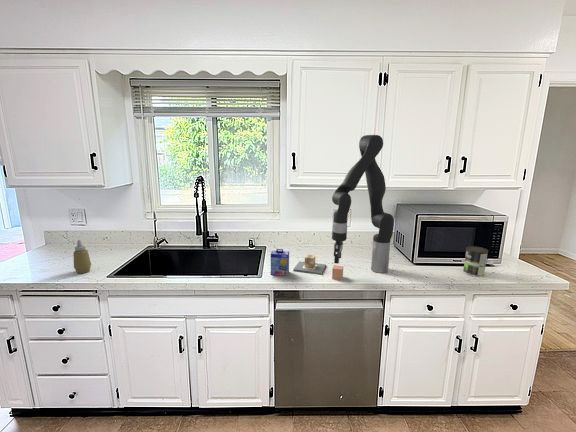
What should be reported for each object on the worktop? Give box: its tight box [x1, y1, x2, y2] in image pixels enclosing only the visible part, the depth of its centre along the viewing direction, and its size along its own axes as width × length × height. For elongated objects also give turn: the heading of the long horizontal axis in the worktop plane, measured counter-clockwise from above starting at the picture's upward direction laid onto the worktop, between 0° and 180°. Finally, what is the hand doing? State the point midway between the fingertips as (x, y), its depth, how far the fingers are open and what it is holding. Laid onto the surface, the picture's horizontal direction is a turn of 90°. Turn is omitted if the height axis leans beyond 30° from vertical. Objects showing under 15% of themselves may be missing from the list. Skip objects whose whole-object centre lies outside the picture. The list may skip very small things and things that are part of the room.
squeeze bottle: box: [73, 239, 92, 275], centre depth 169 cm, size 8×8×18 cm
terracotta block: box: [331, 264, 344, 281], centre depth 165 cm, size 5×5×6 cm
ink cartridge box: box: [270, 248, 290, 276], centre depth 170 cm, size 10×6×14 cm, turn 86°
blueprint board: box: [292, 260, 327, 275], centre depth 178 cm, size 16×13×1 cm
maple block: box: [304, 254, 316, 269], centre depth 177 cm, size 5×5×6 cm
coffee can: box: [462, 245, 489, 278], centre depth 172 cm, size 10×10×14 cm
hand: (337, 260), depth 164 cm, fingers open, 8 cm apart
